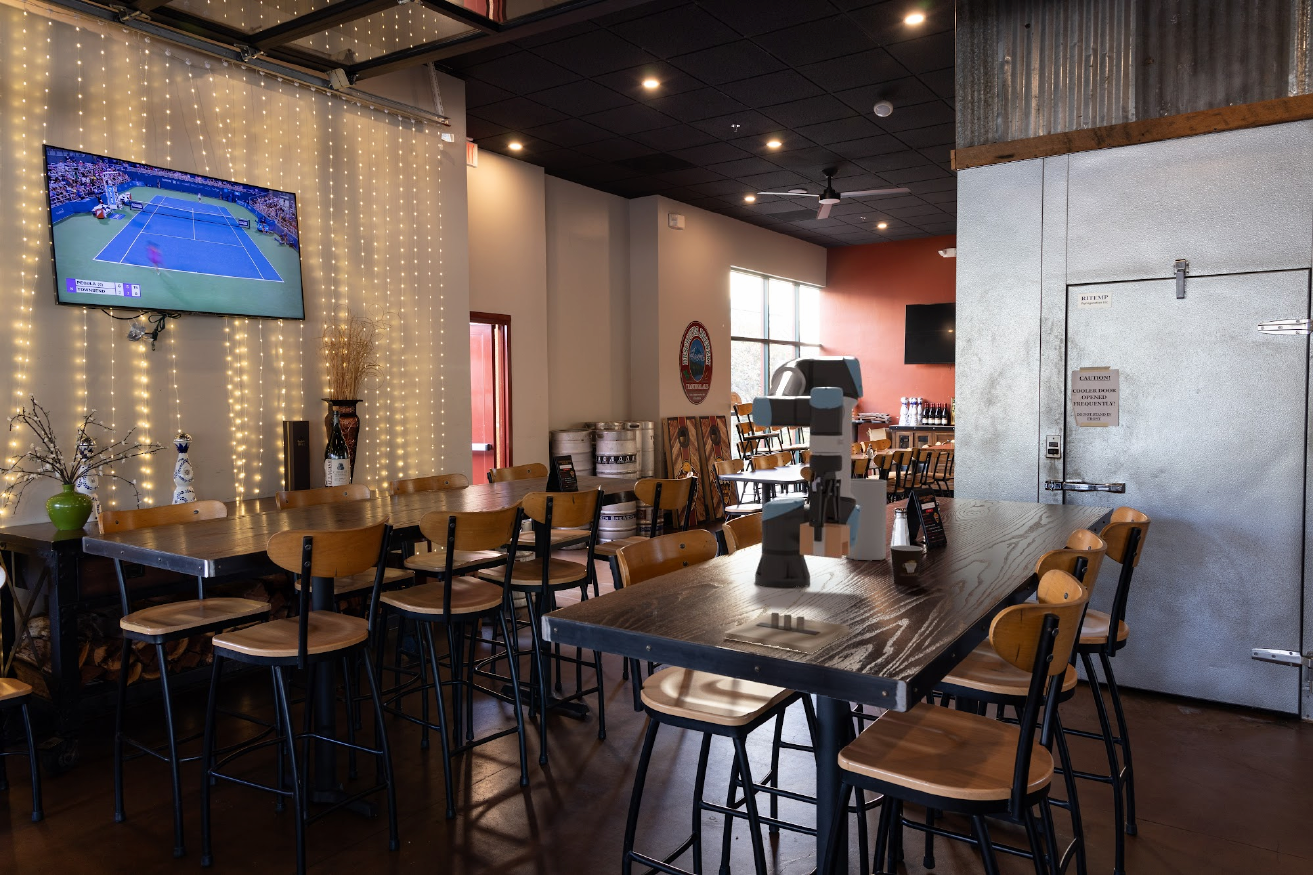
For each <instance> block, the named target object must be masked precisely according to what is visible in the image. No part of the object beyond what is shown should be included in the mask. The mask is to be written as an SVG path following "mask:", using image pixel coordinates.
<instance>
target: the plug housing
mask: <svg viewBox="0 0 1313 875" xmlns="http://www.w3.org/2000/svg"><path fill="white" fill-rule="evenodd" d="M824 527H826V544H825V556H819V557H821V558H830V559H831V558H832V559H839V560H841V559H842V558H843V556H845V557H846V556H849V555H850V525H841V524H829V523H824ZM800 554H801V555H804V556H811V557H812V556H813V557H818V556H817V555H813V527H810V526H809V522H808V523H804V524H800Z"/></svg>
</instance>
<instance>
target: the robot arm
mask: <svg viewBox="0 0 1313 875" xmlns="http://www.w3.org/2000/svg"><path fill="white" fill-rule="evenodd" d="M860 363H861V362H860V360H859V359H858V358H857V357H856V356H844V355H841V356H840V355H839V356H838V355H836V356H831V355H830V356H800V357H796V358H794V359H792V360H791V359H790V360H789V361H787V362H785V363H783V364H782V365H780V366H778V368H777V369H776V370H775V371H774V372H773V375H772V376H771V380H770V385H771V386H770V389H769V390H768V393H767V395H761V396H755V397H754V398H753V400H752V408H751V414H752V415H751V418H752V422H753V425H754V426H755V427H763V428H764V427H765V428H809V442H808V443H809V448H808V449H809V450H808V451H809V453H811V454H810V455H809V458H808V461H809V463H808V464H809V466H808V468H809V471H812V472H815V476H814V481H809V483H808V487H809V502H808V503H806V500H805V499H804V498H802V497H793V498H791V497H790V498H789V497H788V498H783V499H775V500H771V501H768V502H765V503H764V505H762V509H761V510H762V514H761V519H760V521H761V555H760V559H759V562H758V565H757V568H756V570H755V574H754V583H755V584H757V585H760V586H762V587H767V588H776V589H778V588H779V589H796V588H797V589H798V588H803V587H804V588H805V587H808V586H809V585H810V584H811V574H810V572H809V571H810V570H809V567H808V564H807V562H806V558H805V555H801V554H800V524H804V523H808V522H809V526H810V527H813V555H817V556H816V557H820V556H825V544H826V527H824V523H829V524H841V525H850V548H851V547H853V546H854V545H855V544H856V540H857V535H858V530H859V523H860V515H861V506H859V505H856V498H855V497H854V496H853V495H852V494H851V479H852V444H853V441H852V436H853V434H852V432H853V409H855V407H857V406H858V404H859V399H861V398H863V397H864V389H863V388H864V386H863V378H862V371H861V364H860Z"/></svg>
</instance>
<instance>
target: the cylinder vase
mask: <svg viewBox="0 0 1313 875" xmlns="http://www.w3.org/2000/svg"><path fill="white" fill-rule="evenodd" d="M887 483H888V482H887V480H886V479H885V480H884V479H877V478H876V479H875V478H851V494H852V495H853V496H854V497H855V498H856V505H859V506H861V515H860V523H859V530H858V535H857V540H856V544H855V545H854V546H853V547H851V548H850V555H849V556H845V557H846V558H847V559H849V560H852V559H854V560H853V561H858V560H870V561H869V562H873V561H872V560H880V561H883V560H884V559H885V558H886V555H887V554H886V551H887V550H886V548H887V547H886V546H887V545H886V544H887V543H886V539H887V538H886V536H887V535H886V534H887V488H888V487H887Z"/></svg>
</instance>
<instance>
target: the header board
mask: <svg viewBox="0 0 1313 875" xmlns="http://www.w3.org/2000/svg"><path fill="white" fill-rule="evenodd" d="M779 614H780V613H779V612H771V613H768V612H767V613H765V614H762V615H760V616H758V617H755V618H754V619H751V620H749V621H746V622H744V623H742V624H740V625H737V626H735V627H733V628H731V629H728V630H726V631H724V632H723V638H724V637H726V638H729V639H737V640H741V641H748V642H752V643H761V644H763V645H771V646H779V647H782V648H789V649H792V650H798V651H801V652H807V653H811V654H812V653H813V652H815V651H817V650H819V649H820V648H822V647H824V646H826V645H828V644H829V643H831V644H832V642H833V641H835V640H836V639H838V640H839V638H840V637H841V638H843V637H845V636H847V635H848V634H850V625H843V624H837V623H831V622H825V621H818V620H812V619H805V617H804V616H801V615H800V616H796V617H793V616H792V615H791V614H784V615H781V614H780V615H779ZM847 633H848V634H847ZM846 634H847V635H846ZM844 635H845V636H844ZM841 638H840V639H841ZM836 641H837V640H836ZM836 641H835V642H836ZM833 643H834V642H833ZM829 645H830V644H829ZM829 645H828V646H829ZM826 647H827V646H826ZM824 648H825V647H824ZM822 649H823V648H822ZM819 651H820V650H819ZM817 652H818V651H817ZM812 655H813V654H812Z"/></svg>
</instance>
